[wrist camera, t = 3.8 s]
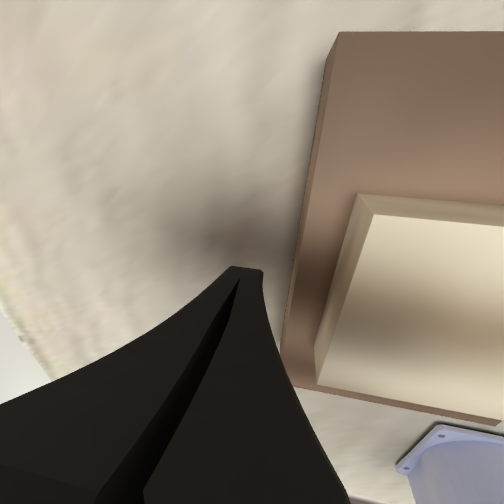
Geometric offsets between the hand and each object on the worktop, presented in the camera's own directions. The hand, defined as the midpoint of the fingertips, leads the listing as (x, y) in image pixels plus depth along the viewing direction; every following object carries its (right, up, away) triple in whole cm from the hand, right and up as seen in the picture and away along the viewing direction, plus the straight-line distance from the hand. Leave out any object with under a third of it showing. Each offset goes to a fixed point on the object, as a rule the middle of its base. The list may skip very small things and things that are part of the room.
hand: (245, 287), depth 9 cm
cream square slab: (+8, 0, 0) cm, 8 cm away
